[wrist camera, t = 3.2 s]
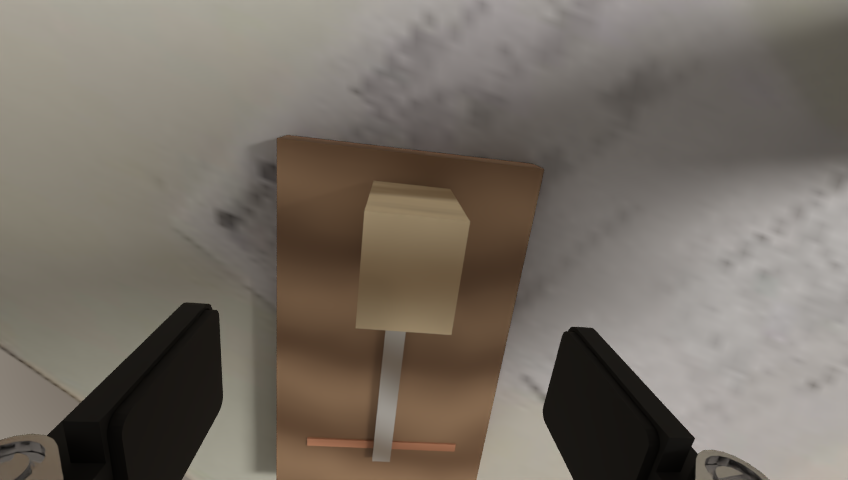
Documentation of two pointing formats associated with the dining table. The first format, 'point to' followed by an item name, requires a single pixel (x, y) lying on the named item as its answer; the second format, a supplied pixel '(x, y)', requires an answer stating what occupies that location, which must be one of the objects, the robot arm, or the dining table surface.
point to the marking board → (380, 349)
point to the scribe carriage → (411, 259)
